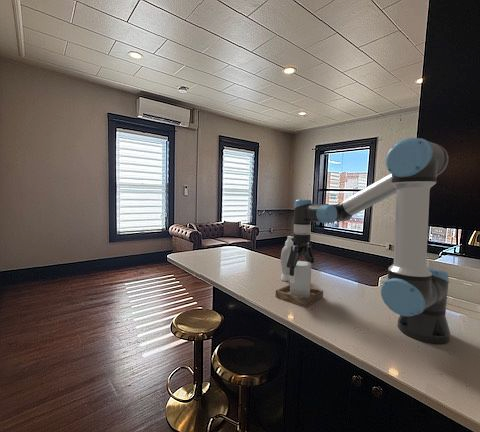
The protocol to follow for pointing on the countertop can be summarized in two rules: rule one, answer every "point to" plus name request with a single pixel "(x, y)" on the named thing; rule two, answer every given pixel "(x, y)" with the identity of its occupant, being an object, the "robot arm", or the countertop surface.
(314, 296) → the tray
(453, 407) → the countertop surface
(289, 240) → the soap bottle
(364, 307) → the countertop surface
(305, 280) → the supplement box
